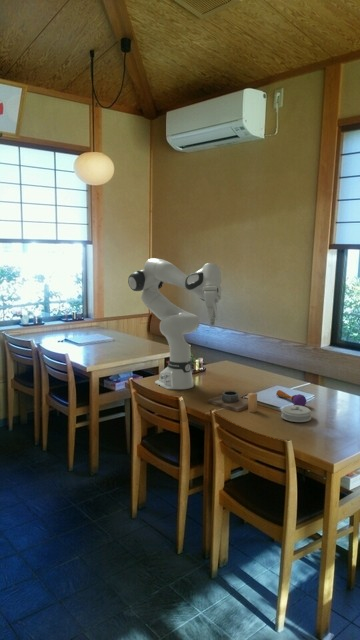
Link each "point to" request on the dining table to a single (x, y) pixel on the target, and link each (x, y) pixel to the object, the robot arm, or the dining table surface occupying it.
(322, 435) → the dining table surface
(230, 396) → the grey stone bowl
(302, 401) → the kendama
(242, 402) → the board
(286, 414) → the lid
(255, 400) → the plug
